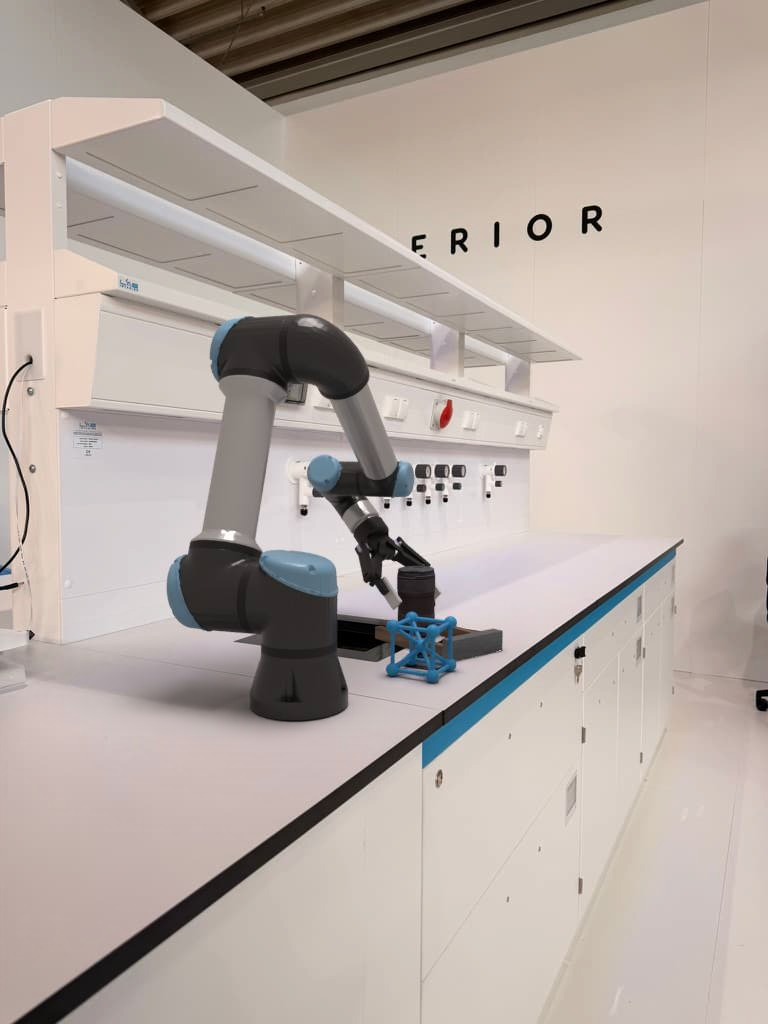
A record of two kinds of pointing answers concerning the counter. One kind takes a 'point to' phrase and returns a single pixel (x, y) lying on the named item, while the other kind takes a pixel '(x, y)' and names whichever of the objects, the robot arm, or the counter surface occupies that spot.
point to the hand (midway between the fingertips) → (418, 601)
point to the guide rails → (402, 641)
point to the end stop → (473, 644)
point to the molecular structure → (421, 646)
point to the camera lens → (416, 594)
